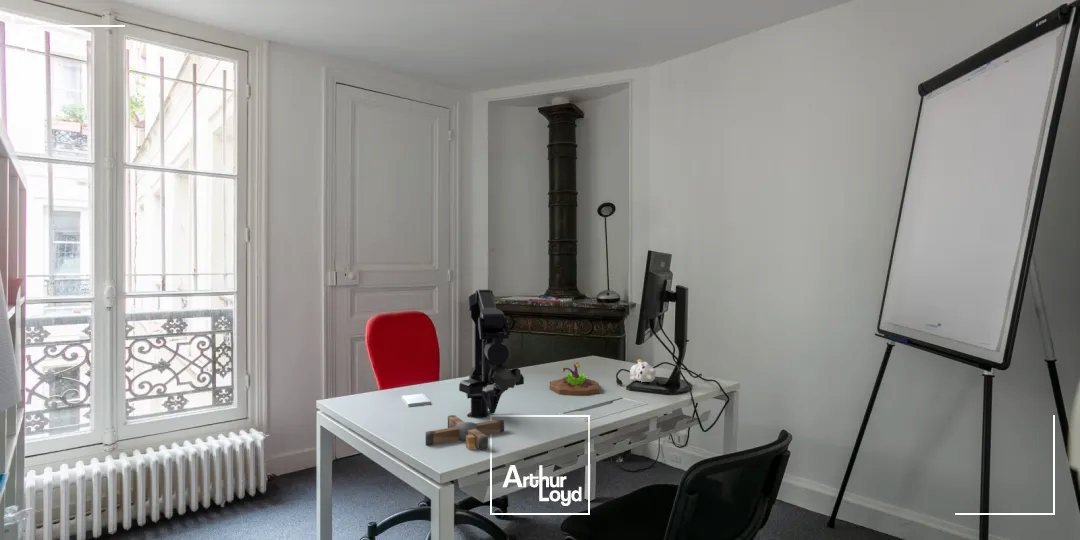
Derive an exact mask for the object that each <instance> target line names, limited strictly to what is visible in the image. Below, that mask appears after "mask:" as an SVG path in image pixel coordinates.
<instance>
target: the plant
mask: <svg viewBox="0 0 1080 540" xmlns="http://www.w3.org/2000/svg"><path fill="white" fill-rule="evenodd" d="M579 368H580V363H579V362H576V363H575V364H573V369H574V370H573V369H571V368H569V367H563V368H562V369H561V372H562V373H564V372H566V370H568V372H567V373H566V375H562V378H560V379H554V380H552V381H549V390H550V391H552V392H554V393H556V394H557V395H560V396H561V395H562V396H570V397H571V396H572V397H573V396H576V397H577V396H578V397H579V396H590V395H597V394H601V386H600V384H599V382H598V381H596V380H593V379H589V375H587V376H585V375H586V374H585V373H584V372H582V373H579V371H578V369H579Z"/></svg>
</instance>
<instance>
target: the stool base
mask: <svg viewBox="0 0 1080 540" xmlns="http://www.w3.org/2000/svg"><path fill="white" fill-rule="evenodd" d="M472 429H476V430H478V431H480V432H481V433H483V434H484V435H486V436H490V435H494V434H501V433H504V432H505V419H503V418H498V419H494V420H493V419H492V420H487V421H482V422H481V421H480V422H472V421H469V422H468V421H464V420H463V419H461V418H459V417H458V416H457V415H453V414H451V415H448V416H447V428H441V429H435V430H428V431H426V432H425V446H427V447H428V446H429V447H431V446H435V445H436V446H437V445H440V444H441V445H442V444H447V443H451V442H458V441H462V442H465V448H466V449H467V450H470V451H471V450H474V449H476V446H475V436H473V435H468V430H472Z"/></svg>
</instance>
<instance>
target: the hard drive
mask: <svg viewBox="0 0 1080 540" xmlns="http://www.w3.org/2000/svg"><path fill="white" fill-rule="evenodd" d="M400 397H401V398H400V399H402V401H403V403H404V404H405V405H406V406H407V407H408V408H411V407H419V406H422V407H423V406H428V405H430V406H431V405H432V401H431V400H430V399H429V398H428V397H427V396H426V395H425V393H415V394H406V395H404V394H403V395H401V396H400Z"/></svg>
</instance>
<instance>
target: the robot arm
mask: <svg viewBox="0 0 1080 540" xmlns="http://www.w3.org/2000/svg"><path fill="white" fill-rule="evenodd" d="M467 311H468V312H469V317H470V318H471V320H472V322H473V324H474V325H473V327H474V328H473V367H472V369H470V372H469V373H468V379H463V380H461V381H460V382H459V385H458V386H459V389H458V391H459V392H462V393H465V395H466V398H467V399H470V412H469V413H468V414H466V416H467V417H470V416H471V417H475V418H483V417H485V418H487V417H488V416H489V415H491V414H495V412H496V410H497V407H498V405H499V401H500V399H501V397H502V394H503V393H504V392H505V391H506V392H507V391H508V390H509V389H510V388H511V389H514V388H515V386H520V385H521V386H522V385H524V384H525V378H524V376H523V374H522V373H521V369H520V368H518V367H514V368H512V369H511V368H510V369H508V367H507V363H506V362H507V360H508V358H509V355H510V353H509V349H508V347H507V345H505V343H504V340H506V339H507V340H509V338H510V337H509V336H510V334H511V331H510V324H509V320H508V318H507V317H506V316H505V313H504V312H503V311H502V310H501V309H498V308H497V307H496V296H495V295H494V293H493V290H492V289H478V290H475V292H474V293H473V294H471V295H469V296H468V297H467ZM471 417H470V418H471Z"/></svg>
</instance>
